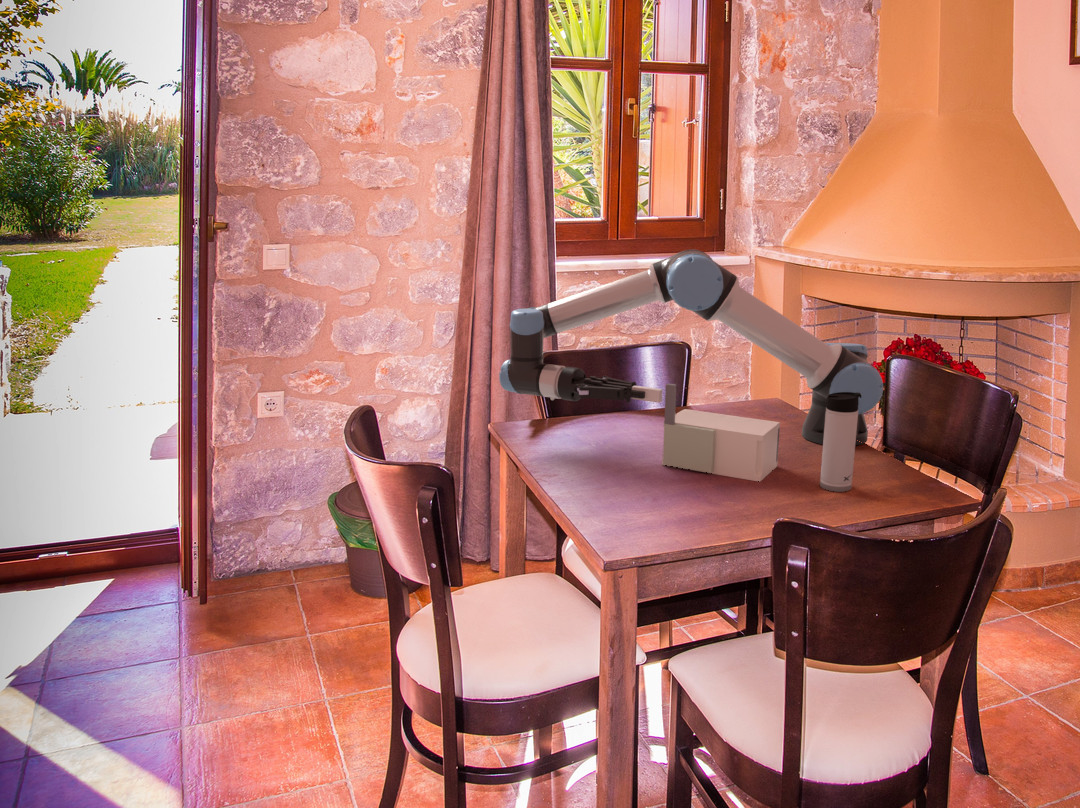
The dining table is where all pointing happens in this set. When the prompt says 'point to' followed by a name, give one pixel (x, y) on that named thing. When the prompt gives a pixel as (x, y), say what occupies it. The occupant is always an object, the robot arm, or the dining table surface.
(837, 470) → the travel mug
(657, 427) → the dining table surface
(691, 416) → the cream case
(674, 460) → the side door
